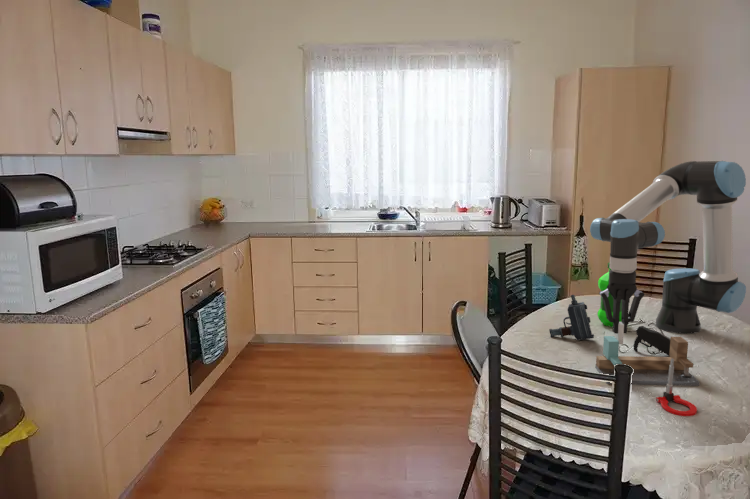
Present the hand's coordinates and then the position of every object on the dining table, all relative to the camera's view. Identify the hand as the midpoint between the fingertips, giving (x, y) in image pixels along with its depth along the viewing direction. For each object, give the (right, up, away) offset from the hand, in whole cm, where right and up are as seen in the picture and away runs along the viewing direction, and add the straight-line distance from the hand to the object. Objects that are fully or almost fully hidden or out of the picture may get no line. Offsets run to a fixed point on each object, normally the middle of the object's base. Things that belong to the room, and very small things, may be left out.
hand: (619, 342), depth 165 cm
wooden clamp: (+7, -8, -2) cm, 11 cm away
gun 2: (+20, -7, +13) cm, 24 cm away
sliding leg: (-3, -8, -1) cm, 9 cm away
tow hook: (+5, -14, -23) cm, 27 cm away
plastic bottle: (+17, -1, +44) cm, 47 cm away
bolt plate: (+6, -10, -3) cm, 12 cm away
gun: (-4, -4, +31) cm, 31 cm away
